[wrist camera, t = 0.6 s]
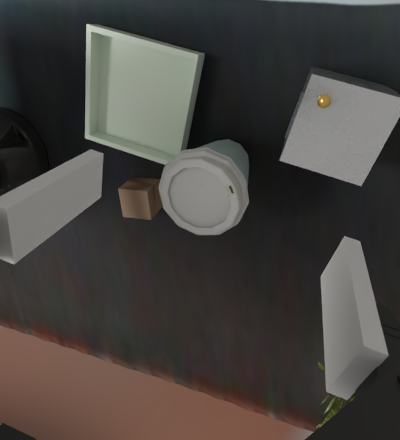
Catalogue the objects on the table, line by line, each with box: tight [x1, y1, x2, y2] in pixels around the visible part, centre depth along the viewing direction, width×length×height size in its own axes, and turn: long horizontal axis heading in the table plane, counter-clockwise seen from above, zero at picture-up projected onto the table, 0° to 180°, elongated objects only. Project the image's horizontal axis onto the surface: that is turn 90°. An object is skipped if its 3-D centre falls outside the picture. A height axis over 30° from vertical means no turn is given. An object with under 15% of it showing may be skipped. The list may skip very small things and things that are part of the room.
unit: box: [279, 66, 400, 186], centre depth 36 cm, size 10×9×10 cm
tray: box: [85, 24, 205, 165], centre depth 45 cm, size 15×15×3 cm
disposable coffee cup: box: [158, 139, 249, 235], centre depth 41 cm, size 11×11×15 cm
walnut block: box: [118, 177, 163, 220], centre depth 52 cm, size 5×5×5 cm
